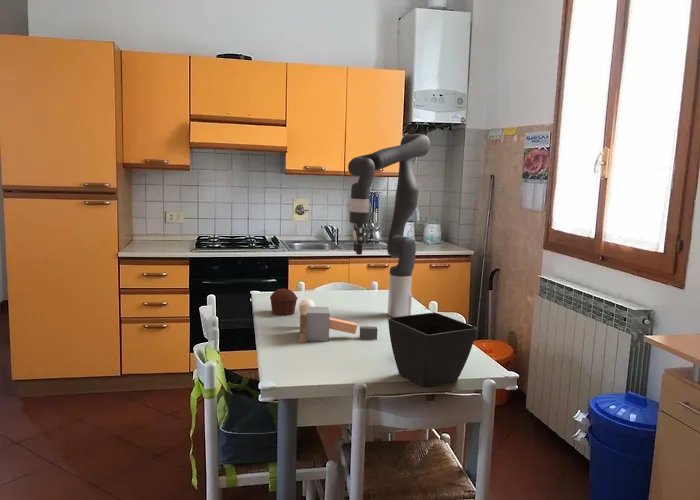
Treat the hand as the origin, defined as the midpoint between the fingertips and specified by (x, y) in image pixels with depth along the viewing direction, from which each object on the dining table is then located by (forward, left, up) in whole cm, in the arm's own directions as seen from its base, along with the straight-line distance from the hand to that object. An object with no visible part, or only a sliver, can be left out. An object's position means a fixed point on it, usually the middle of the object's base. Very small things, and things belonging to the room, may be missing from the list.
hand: (357, 252), depth 226 cm
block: (+16, +19, -28) cm, 37 cm away
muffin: (+28, -15, -28) cm, 43 cm away
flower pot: (-16, +59, -28) cm, 67 cm away
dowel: (+10, +19, -25) cm, 33 cm away
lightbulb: (+19, +6, -28) cm, 35 cm away
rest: (-3, +19, -28) cm, 34 cm away
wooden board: (+20, +19, -28) cm, 40 cm away
